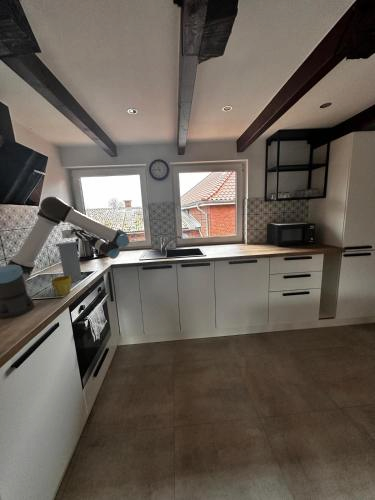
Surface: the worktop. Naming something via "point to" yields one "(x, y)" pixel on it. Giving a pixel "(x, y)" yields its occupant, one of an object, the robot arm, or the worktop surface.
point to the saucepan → (69, 233)
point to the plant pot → (62, 284)
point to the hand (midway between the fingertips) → (72, 226)
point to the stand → (70, 260)
